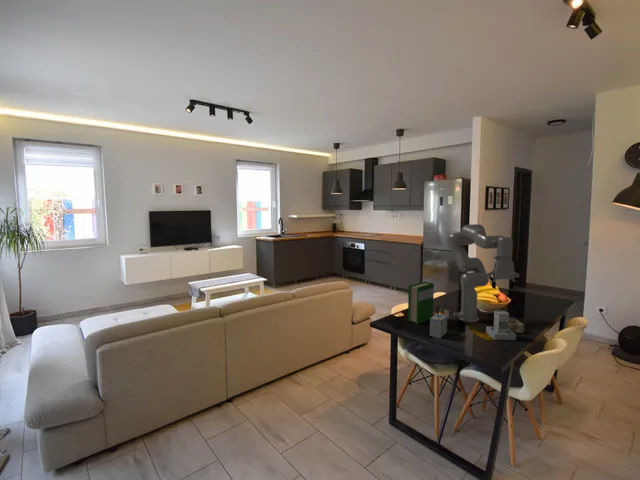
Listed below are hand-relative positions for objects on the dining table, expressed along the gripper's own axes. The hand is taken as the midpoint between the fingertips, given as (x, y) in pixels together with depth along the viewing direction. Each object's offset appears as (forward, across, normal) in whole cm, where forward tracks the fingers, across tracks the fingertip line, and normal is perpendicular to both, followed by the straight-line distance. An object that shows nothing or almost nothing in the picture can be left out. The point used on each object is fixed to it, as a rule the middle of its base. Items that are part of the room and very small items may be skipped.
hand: (502, 288), depth 191 cm
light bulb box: (+28, -35, 0) cm, 45 cm away
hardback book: (+28, -40, +26) cm, 55 cm away
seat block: (+28, 0, 0) cm, 28 cm away
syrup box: (+28, 0, 0) cm, 28 cm away
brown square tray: (+28, +10, +12) cm, 32 cm away
